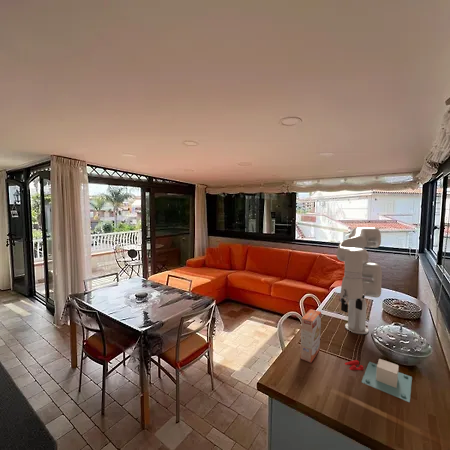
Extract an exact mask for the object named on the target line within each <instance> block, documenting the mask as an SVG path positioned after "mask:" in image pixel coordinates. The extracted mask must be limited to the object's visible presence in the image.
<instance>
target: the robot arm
mask: <svg viewBox="0 0 450 450" xmlns="http://www.w3.org/2000/svg"><path fill="white" fill-rule="evenodd" d="M381 243H382V234H381V231H380V230H379V229H378V228H377V227H371V226H370V227H367V226H359V227H355V228H353V229H352V231H351V233H350V234H349V235H348V238H346V239H344V240H342V241H341V242H339V244H338V246H337V250H336V258H337V260H338V261H340V262H344V273H343V274H344V275H343V277H342V280H341V281H342V282H341V286H340V292H339V293H338V294H337V296H338V298H339V299H338V300H339V301H340V305H341V306H340V310H341V311H342V312H343V313H346V314H347V313H348V314H347V323H345V325H344V327H345V329H346V330H347V331H348V330H349V331H348V332H350V331H351V332H350V333H353V334H357V335H367V334H368V333H369V329H368V328H367V325H366V324H367V323H366V322H367V301H366V299H365V297H369V298H370V297H371V298H377V299H378V298H380V297H381V296H382V295H381V294H382V286H383V285H382V281H383V279H382V277H383V273H382V272H383V271H382V267H381V265H380V264H379V263H376V262H369V258H370V257H369V255H370V254H369V252H368V251H367V249H365V248H375V249H376V248H379V247H380V246H381ZM364 278H365V279H364ZM368 279H369V280H368ZM370 279H371V280H370Z"/></svg>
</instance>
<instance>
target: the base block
mask: <svg viewBox="0 0 450 450" xmlns="http://www.w3.org/2000/svg"><path fill="white" fill-rule="evenodd" d="M377 361H378V362H377V363H376V364H377V371H376V380H377V381H380V382H382V383H385V384H387V385H390V386H392V387H395V388H397V382H398V372H399V367H400V366H399V365H398V364H396V363H393V362H390V361H387V360H384V359H381V358H378V360H377Z"/></svg>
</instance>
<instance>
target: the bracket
mask: <svg viewBox="0 0 450 450" xmlns="http://www.w3.org/2000/svg"><path fill="white" fill-rule="evenodd" d="M344 364H345V366H350V367H348V369H349V370H351V371H364V366H363V364H360V361H359V360H357V359H353V360H350V361H349V360H348V361H347V362H344ZM357 366H358V367H357Z"/></svg>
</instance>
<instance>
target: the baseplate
mask: <svg viewBox="0 0 450 450" xmlns="http://www.w3.org/2000/svg"><path fill="white" fill-rule="evenodd" d="M377 364H378V363H375V362H372V361H369V362H368V364H367V367H366V369H365V372H364V373H363V376H362V380H361V383H363V384H365V385H367V386H369V387H372V388H374V389H376V390H379V391H381V392H383V393H386V394H388V395H391V396H393V397H396V398H399V399H401V400H403V401H405V402H408V403H410V402H411V394H412V380H413V377H412V376H410V375H408V374H404V373H403V372H399V371H398V382H397V388H395V387H392V386H390V385H387V384H385V383H382V382H380V381H377V380H376V371H377Z"/></svg>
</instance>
